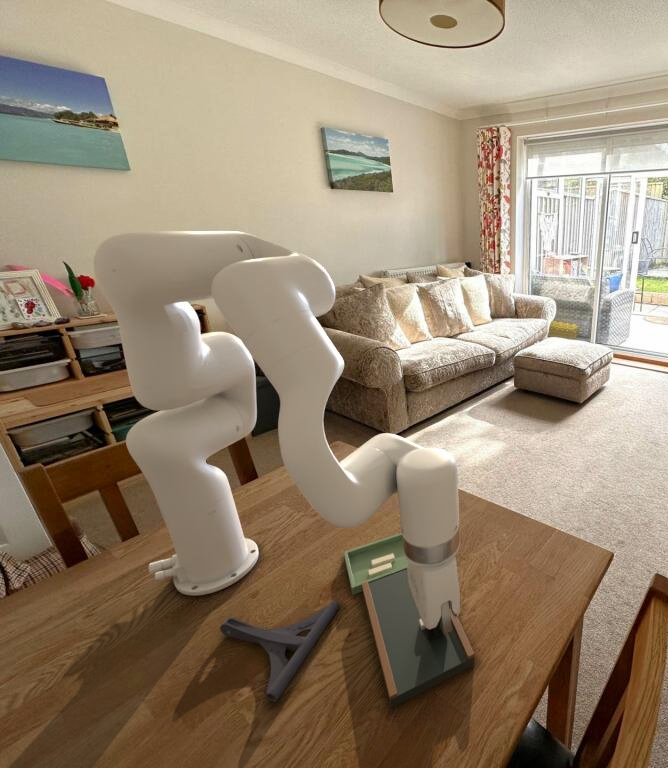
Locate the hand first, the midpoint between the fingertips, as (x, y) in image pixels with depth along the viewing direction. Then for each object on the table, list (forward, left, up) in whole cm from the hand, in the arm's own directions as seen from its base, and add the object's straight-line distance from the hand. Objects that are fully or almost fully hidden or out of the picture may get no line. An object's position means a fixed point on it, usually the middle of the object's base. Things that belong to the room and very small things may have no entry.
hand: (437, 632), depth 61 cm
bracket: (-22, +12, -2) cm, 26 cm away
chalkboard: (-2, +4, -2) cm, 5 cm away
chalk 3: (0, +2, 0) cm, 2 cm away
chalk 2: (-5, +17, -1) cm, 18 cm away
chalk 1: (-4, +19, -1) cm, 19 cm away
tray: (-2, +19, -2) cm, 19 cm away
